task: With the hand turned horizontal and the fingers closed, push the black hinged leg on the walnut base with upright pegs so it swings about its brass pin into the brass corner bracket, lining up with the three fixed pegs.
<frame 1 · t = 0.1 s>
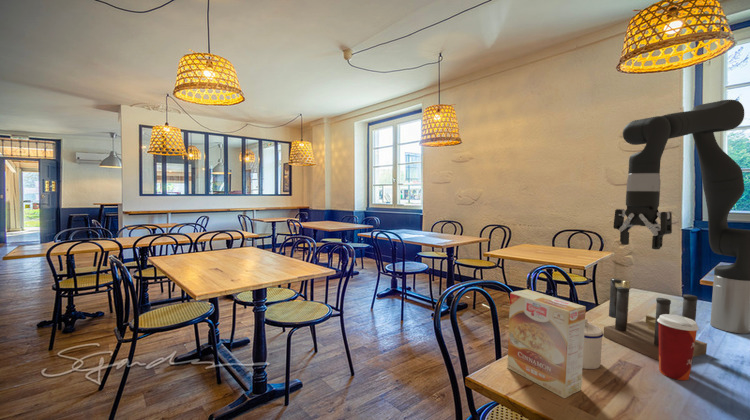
hand: (639, 246, 98), 29 cm above the table, tool pointing down, fingers open, 8 cm apart
paper cup: (673, 374, 85), on the table
base with upright pegs: (652, 344, 101), on the table
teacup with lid: (575, 359, 92), on the table
hinged leg: (619, 299, 110), point 10 cm above the table, hinge at 65.0°
coffeecake box: (542, 379, 82), on the table
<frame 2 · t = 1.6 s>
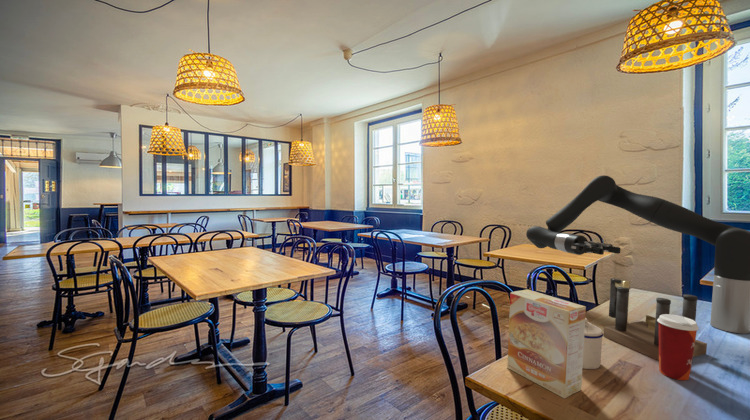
hand: (611, 251, 119), 24 cm above the table, tool horizontal, fingers open, 7 cm apart
nothing on the table moved.
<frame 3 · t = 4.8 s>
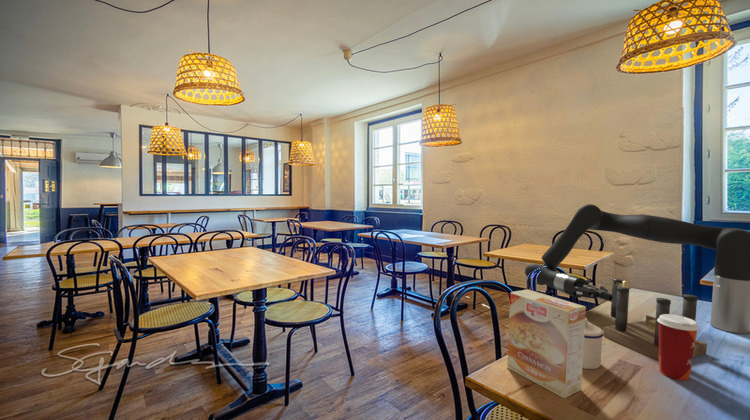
hand: (613, 298, 115), 9 cm above the table, tool horizontal, fingers closed
hinged leg: (620, 299, 110), point 10 cm above the table, hinge at 61.1°, touching gripper
everything else where it was.
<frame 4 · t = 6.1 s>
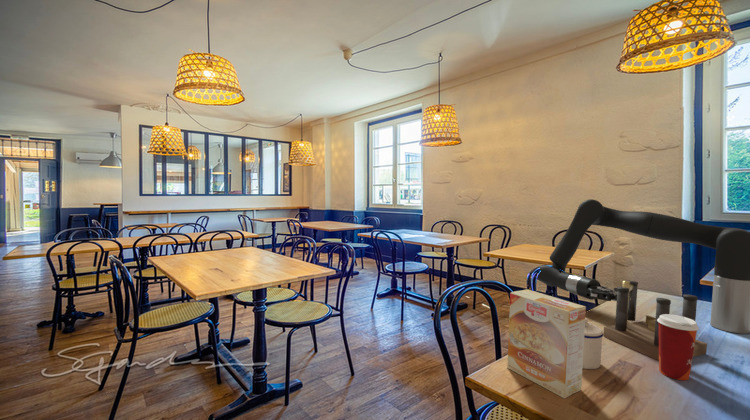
hand: (629, 300, 113), 9 cm above the table, tool horizontal, fingers closed
hinged leg: (628, 300, 109), point 10 cm above the table, hinge at 33.5°, touching gripper
everything else where it was.
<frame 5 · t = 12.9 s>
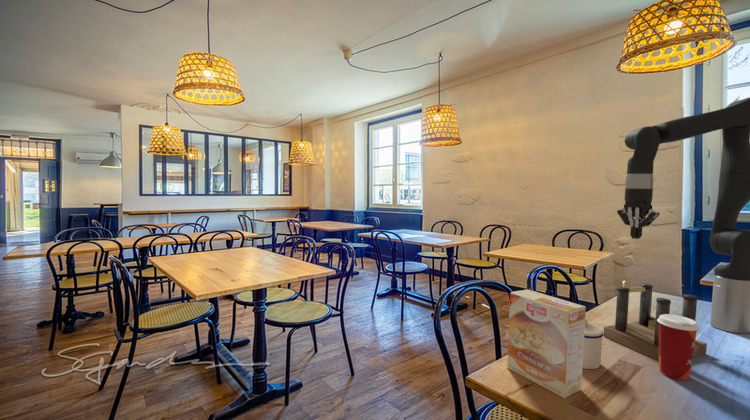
hand: (635, 238, 117), 29 cm above the table, tool pointing down, fingers closed
hinged leg: (636, 302, 107), point 10 cm above the table, hinge at 4.2°
everything else where it was.
at the end: hinged leg at +4° (first picture: +65°); hinged leg touching nothing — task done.
